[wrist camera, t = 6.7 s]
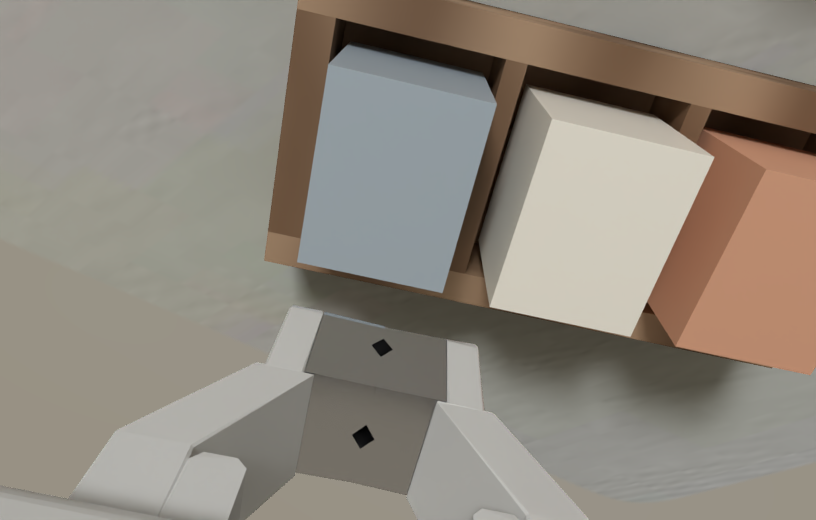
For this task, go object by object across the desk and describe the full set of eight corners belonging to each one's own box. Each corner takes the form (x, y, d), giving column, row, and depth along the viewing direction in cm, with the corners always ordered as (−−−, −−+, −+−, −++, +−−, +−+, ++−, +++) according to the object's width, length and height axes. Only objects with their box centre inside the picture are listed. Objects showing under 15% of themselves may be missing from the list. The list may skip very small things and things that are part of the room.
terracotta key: (817, 154, 21) (920, 205, 17) (739, 297, 24) (810, 375, 19) (694, 124, 21) (766, 169, 17) (629, 273, 24) (675, 346, 19)
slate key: (482, 72, 21) (497, 104, 16) (440, 228, 23) (442, 292, 19) (350, 41, 20) (328, 64, 16) (322, 203, 23) (296, 262, 19)
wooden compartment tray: (847, 93, 23) (924, 119, 19) (726, 314, 27) (772, 368, 24) (323, -36, 21) (302, -35, 18) (287, 218, 26) (264, 260, 22)
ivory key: (653, 114, 21) (714, 156, 16) (592, 265, 24) (630, 337, 19) (525, 84, 21) (552, 118, 16) (478, 239, 23) (489, 307, 19)
